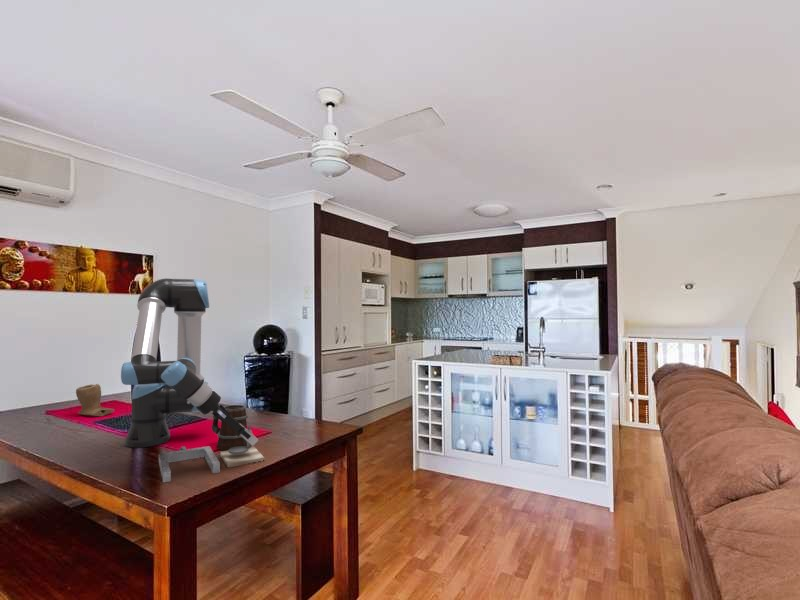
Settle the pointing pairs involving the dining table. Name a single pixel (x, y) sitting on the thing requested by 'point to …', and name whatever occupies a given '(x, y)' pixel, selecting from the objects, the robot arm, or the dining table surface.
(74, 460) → the dining table surface
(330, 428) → the dining table surface
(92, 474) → the dining table surface
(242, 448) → the pocket watch
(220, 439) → the mug
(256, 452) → the ash board
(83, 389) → the tan upright piece
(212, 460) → the u-shaped metal frame
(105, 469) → the dining table surface
